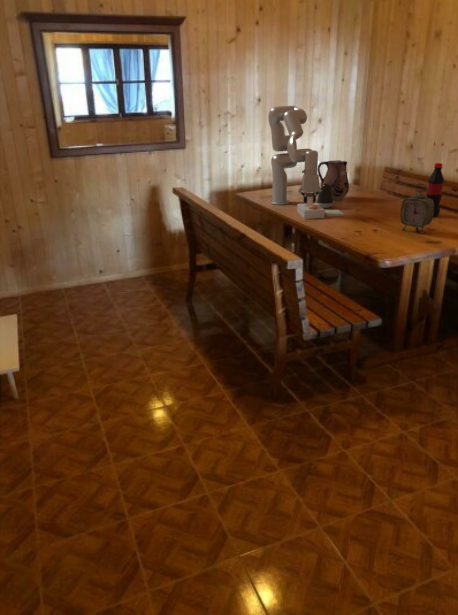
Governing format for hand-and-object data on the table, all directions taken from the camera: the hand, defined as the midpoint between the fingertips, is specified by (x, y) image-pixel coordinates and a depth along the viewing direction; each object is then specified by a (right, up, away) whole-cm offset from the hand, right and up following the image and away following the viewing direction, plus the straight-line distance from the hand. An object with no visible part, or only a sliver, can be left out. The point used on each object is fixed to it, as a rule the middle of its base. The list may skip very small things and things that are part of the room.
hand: (309, 202), depth 305 cm
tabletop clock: (+50, -23, -38) cm, 67 cm away
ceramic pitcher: (+21, +10, +37) cm, 44 cm away
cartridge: (0, -6, +3) cm, 6 cm away
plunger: (+1, -9, -5) cm, 10 cm away
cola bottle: (+70, -10, -10) cm, 71 cm away
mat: (+15, -6, +1) cm, 16 cm away
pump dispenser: (+13, 0, +16) cm, 21 cm away
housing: (+1, -7, 0) cm, 7 cm away
